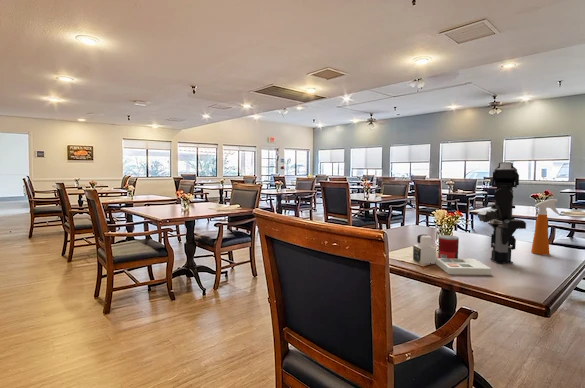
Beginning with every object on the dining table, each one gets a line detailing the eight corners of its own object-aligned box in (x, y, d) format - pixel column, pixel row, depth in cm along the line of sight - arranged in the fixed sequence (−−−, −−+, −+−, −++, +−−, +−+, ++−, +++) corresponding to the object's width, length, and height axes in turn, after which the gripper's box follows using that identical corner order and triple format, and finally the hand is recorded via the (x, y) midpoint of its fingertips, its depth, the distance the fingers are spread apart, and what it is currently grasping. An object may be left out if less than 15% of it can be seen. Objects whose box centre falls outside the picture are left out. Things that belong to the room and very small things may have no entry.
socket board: (474, 264, 144) (474, 258, 144) (491, 274, 131) (491, 267, 130) (435, 263, 145) (436, 257, 145) (448, 274, 132) (448, 267, 131)
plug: (503, 250, 128) (504, 225, 128) (507, 252, 126) (509, 226, 125) (495, 250, 129) (496, 225, 128) (499, 252, 126) (500, 226, 125)
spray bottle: (561, 256, 157) (564, 199, 154) (534, 254, 160) (537, 199, 158) (555, 252, 163) (558, 198, 161) (529, 250, 167) (531, 197, 165)
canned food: (460, 263, 145) (460, 238, 145) (440, 262, 147) (441, 238, 146) (455, 259, 153) (456, 235, 152) (436, 258, 155) (437, 234, 154)
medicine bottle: (412, 260, 152) (413, 233, 151) (427, 259, 153) (428, 233, 152) (420, 264, 145) (420, 237, 144) (435, 264, 145) (436, 236, 144)
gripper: (469, 199, 135) (468, 238, 137) (494, 205, 117) (493, 249, 118) (498, 199, 135) (496, 238, 136) (528, 205, 116) (525, 249, 117)
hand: (501, 243), depth 127 cm, fingers closed on plug, 3 cm apart
